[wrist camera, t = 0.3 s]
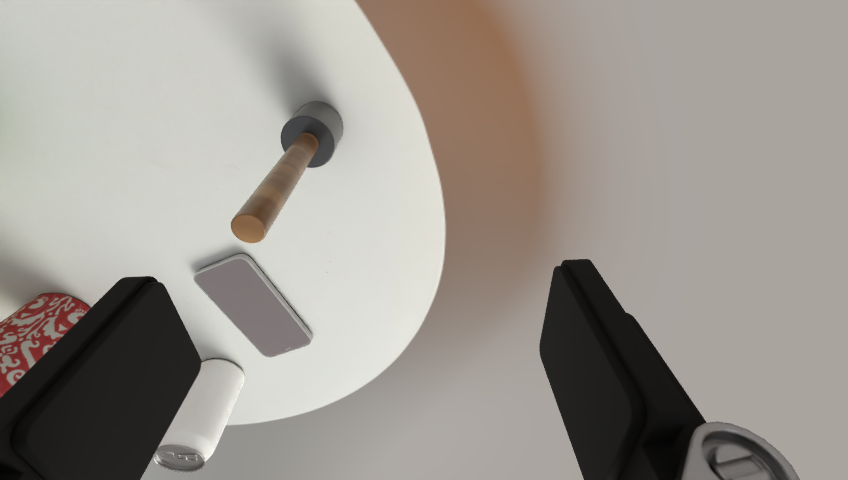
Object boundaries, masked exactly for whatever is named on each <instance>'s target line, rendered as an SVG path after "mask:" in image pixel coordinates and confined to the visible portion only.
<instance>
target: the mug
mask: <svg viewBox="0 0 848 480" xmlns="http://www.w3.org/2000/svg"><path fill="white" fill-rule="evenodd" d="M89 310H90V308H89V307H88V306H87V305H86V304H84V303H83V302H81V301H79V300H78V299H76V298H73V297H71V296H68V295H64V294H59V293H46V294H42V295H39V296H38V297H36V298H34V299H33V300H31V301H30V302H29V303H27V304H26V305H24V306H23V307H22V308H20V309H19V310H18V311H16V312H15V313H13V314H12V315H10V316H9V317H8V318H6V319H5V320H3V321H2V322H0V398H1V397H2V396H3V395H4V394H5V393H6V392H7V391H8V390H9V389H10V388H11V387H12V386H13V385H14V384H15V383H16V382H17V381H18V380H19V379H20V378H21V377H22V376H23V375H24V374H25V373H26V372H27V371H28V370H29V369H30V368H31V367H32V366H33V365H34V364H35V363H36V362H37V361H38V360H39V359H40V358H41V357H42V356H43V355H44V354H45V353H46V352H47V351H48V350H49V349H50V348H51V347H52V346H53V345H54V344H55V343H56V342H57V341H58V340H59V339H60V338H61V337H62V336H63V335H64V334H65V333H66V332H67V331H68V330H70V329H71V328H72V327H73V326H74V325H75V324H76V323H77V322H78V321H79V320H80V319H81V318H82V317H83V316H84V315H85V314H86V313H87V312H88V311H89Z"/></svg>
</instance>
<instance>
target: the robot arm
mask: <svg viewBox="0 0 848 480" xmlns="http://www.w3.org/2000/svg"><path fill="white" fill-rule="evenodd" d="M540 356H541V359H542V363H543V365H544V368H545V371H546V374H547V377H548V379H549V382H550V385H551V388H552V391H553V393H554V396H555V399H556V402H557V405H558V408H559V410H560V413H561V416H562V419H563V422H564V425H565V427H566V430H567V433H568V436H569V439H570V441H571V444H572V447H573V450H574V453H575V455H576V458H577V461H578V464H579V467H580V470H581V472H582V475H583V478H584V480H800V479H799V477H798V476H797V474H796V472H795V470H794V469H793V467H792V465H791V464H790V463H789V462H788V461H787V460H786V459H785V457H784V456H783V455H782V454H781V453H780V452H779V451H778V450H777V449H776V448H774V447H773V446H772V445H771V444H769V443H768V442H767V441H766V440H765V439H763V438H761V437H760V436H758V435H756V434H754V433H752V432H751V431H749V430H747V429H744V428H741V427H739V426H736V425H733V424H730V423H723V422H710V423H706V421H705V420H704V418H703V417H702V415H701V414H700V412H699V411H698V410H697V408H696V406H695V405H694V404H693V402H692V401H691V399H690V398H689V396H688V395H687V393H686V392H685V391H684V389H683V388H682V386H681V385H680V383H679V382H678V380H677V379H676V377H675V376H674V374H673V373H672V372H671V370H670V369H669V367H668V366H667V364H666V363H665V361H664V360H663V358H662V357H661V355H660V354H659V353H658V351H657V350H656V348H655V347H654V345H653V344H652V342H651V341H650V340H649V338H648V337H647V335H646V334H645V333H644V331H643V329H642V328H641V326H640V325H639V323H638V322H637V321H636V319H635V318H634V317H633V316H632V315H630V314H628V313H626V312H625V311H624V309H623V308H622V306H621V305H620V303H619V302H618V301H617V299H616V298H615V296H614V295H613V293H612V292H611V290H610V289H609V287H608V286H607V284H606V283H605V281H604V280H603V278H602V277H601V275H600V274H599V272H598V271H597V269H596V268H595V266H594V265H593V263H592V262H591V261H590V260H588V259H579V260H564V261H563V262H562V264H561V266H557V267H555V268H554V271H553V277H552V282H551V287H550V292H549V297H548V303H547V308H546V313H545V319H544V324H543V329H542V334H541V340H540ZM200 369H201V359H200V356H199V354H198V352H197V350H196V348H195V346H194V344H193V342H192V340H191V338H190V336H189V334H188V332H187V330H186V328H185V326H184V324H183V322H182V320H181V318H180V316H179V314H178V312H177V310H176V308H175V306H174V304H173V302H172V300H171V298H170V296H169V294H168V292H167V290H166V288H165V286H164V285H163V284H162V283H161V282H158V281H157V280H156V279H155V278H154V277H150V276H145V277H125V278H122V279H121V280H119V281H118V282H117V283H116V284H115V285H114V286H113V287H112V288H111V289H110V290H109V291H108V292H107V293H106V294H105V295H104V296H103V297H102V298H101V299H100V300H99V301H98V302H97V303H96V304H95V305H94V306H93V307H92V308H91V309H90V310H89V311H88V312H87V313H86V314H85V315H84V316H83V317H82V318H81V319H80V320H79V321H78V322H77V323H76V324H75V325H74V326H73V327H72V328H71V329H70V330H68V331H67V332H66V333H65V334H64V335H63V336H62V337H61V338H60V339H59V340H58V341H57V342H56V343H55V344H54V345H53V346H52V347H51V348H50V349H49V350H48V351H47V352H46V353H45V354H44V355H43V356H42V357H41V358H40V359H39V360H38V361H37V362H36V363H35V364H34V365H33V366H32V367H31V368H30V369H29V370H28V371H27V372H26V373H25V374H24V375H23V376H22V377H21V378H20V379H19V380H18V381H17V382H16V383H15V384H14V385H13V386H12V387H11V388H10V389H9V390H8V391H7V392H6V393H5V394H4V395H3V396H2V397H1V398H0V480H140V479H141V477H142V475H143V473H144V472H145V470H146V468H147V466H148V464H149V463H150V461H151V459H152V457H153V455H154V454H155V452H156V450H157V448H158V446H159V445H160V443H161V441H162V439H163V437H164V436H165V434H166V432H167V430H168V428H169V427H170V425H171V423H172V421H173V419H174V418H175V416H176V414H177V412H178V410H179V408H180V407H181V405H182V403H183V401H184V399H185V398H186V396H187V394H188V392H189V390H190V389H191V387H192V385H193V383H194V381H195V380H196V378H197V376H198V374H199V372H200Z"/></svg>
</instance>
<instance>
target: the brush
mask: <svg viewBox="0 0 848 480" xmlns="http://www.w3.org/2000/svg"><path fill="white" fill-rule="evenodd" d="M342 134H343V123H342V119H341V117H340V115H339V114H338V112H337V111H336V110H335V109H334V108H332V107H331V106H330V105H328V104H326V103H323V102H310V103H307V104H305V105H304V106H302V107H301V108H300V109H299V110H298V111H297V113H296V114H295V115H294V116H293V117H292V118H291V119H290V120H289V121H288V122H287V123H286V124H285V126H284V127H283V129H282V132H281V144H282V147H283V149H284V151H285V153H284V155H283V156H282V157H281V158H280V160H279V161H278V162H277V164H276V165H275V166H274V167H273V169H272V170H271V171H270V172H269V174H268V175H267V176H266V177H265V179H264V180H263V181H262V183H261V184H260V185H259V186H258V188H257V189H256V190H255V191H254V193H253V194H252V195H251V196H250V198H249V199H248V200H247V202H246V203H245V204H244V205H243V207H242V208H241V209H240V210H239V212H238V213H237V214H236V215H235V217H234V218H233V219H232V221H231V229H232V232H233V233H234V235H235V236H236V237H237V238H238V239H240V240H242V241H244V242H247V243H256V242H259V241H261V240H263V239H264V237H265V236H266V234H267V232H268V231H269V229H270V227H271V226H272V224H273V222H274V221H275V219H276V217H277V216H278V214H279V212H280V211H281V209H282V207H283V206H284V204H285V202H286V201H287V199H288V197H289V196H290V194H291V192H292V191H293V189H294V187H295V186H296V184H297V182H298V181H299V179H300V177H301V176H302V174H303V172H304V171H305V169H306V167H309V168H314V167H319V166H322V165H324V164H326V163H327V162H328V161H329V160H330V159H331V157H332V155H333V153H334V151H335V149H336V147H337V145H338V143H339V141H340V139H341V137H342Z"/></svg>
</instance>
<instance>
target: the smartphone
mask: <svg viewBox="0 0 848 480" xmlns="http://www.w3.org/2000/svg"><path fill="white" fill-rule="evenodd" d="M194 282H195V283H196V284H197V285H198V286H199V287H200V288H201V290H202V291H203V292H204V293H205V294H206V295H207V296H208V297H209V298H210V299H211V300H212V301H213V302H214V304H215V305H216V306H217V307H218V308H219V309H220V310H221V311H222V312H223V313H224V314H225V315H226V316H227V317H228V319H229V320H230V321H231V322H232V323H233V324H234V325H235V326H236V327H237V328H238V329H239V330H240V331H241V332H242V334H243V335H244V336H245V337H246V338H247V339H248V340H249V341H250V342H251V343H252V344H253V345H254V346H255V348H256V349H257V350H258V351H259V352H260V353H261V354H262V355H264V356H266V357H275V356H278V355H281V354H284V353H287V352H290V351H293V350H296V349H299V348H302V347H305V346H307V345H309V344H310V343H311V340H312V334H311V332H310V331H309V330H308V329H307V327H306V326H305V325H304V324H303V322H302V321H301V320H300V319H299V317H298V316H297V315H296V314H295V312H294V311H293V310H292V309H291V307H290V306H289V305H288V304H287V302H286V301H285V300H284V299H283V297H282V296H281V295H280V294H279V292H278V291H277V290H276V289H275V287H274V286H273V285H272V284H271V282H270V281H269V280H268V279H267V277H266V276H265V275H264V274H263V272H262V271H261V270H260V269H259V267H258V266H257V265H256V264H255V262H254V261H253V260H252V259H251V258H250V257H249V256H247V255H245V254H237V255H234V256H232V257H230V258H227V259H225V260H222V261H220V262H217V263H215V264H212V265H210V266H207V267H205V268H202V269H200V270H198V271H197V273H196V274H195V275H194Z"/></svg>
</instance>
